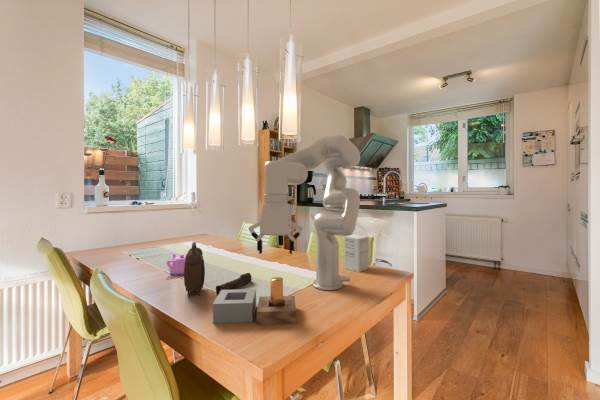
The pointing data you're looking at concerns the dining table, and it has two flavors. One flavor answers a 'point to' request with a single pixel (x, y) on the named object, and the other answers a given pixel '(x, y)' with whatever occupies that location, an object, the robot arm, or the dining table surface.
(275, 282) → the pin
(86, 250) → the dining table surface
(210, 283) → the dining table surface
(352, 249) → the supplement box
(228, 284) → the hand tool
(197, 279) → the alarm clock
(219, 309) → the socket block
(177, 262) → the teapot
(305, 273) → the dining table surface
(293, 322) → the mount block
